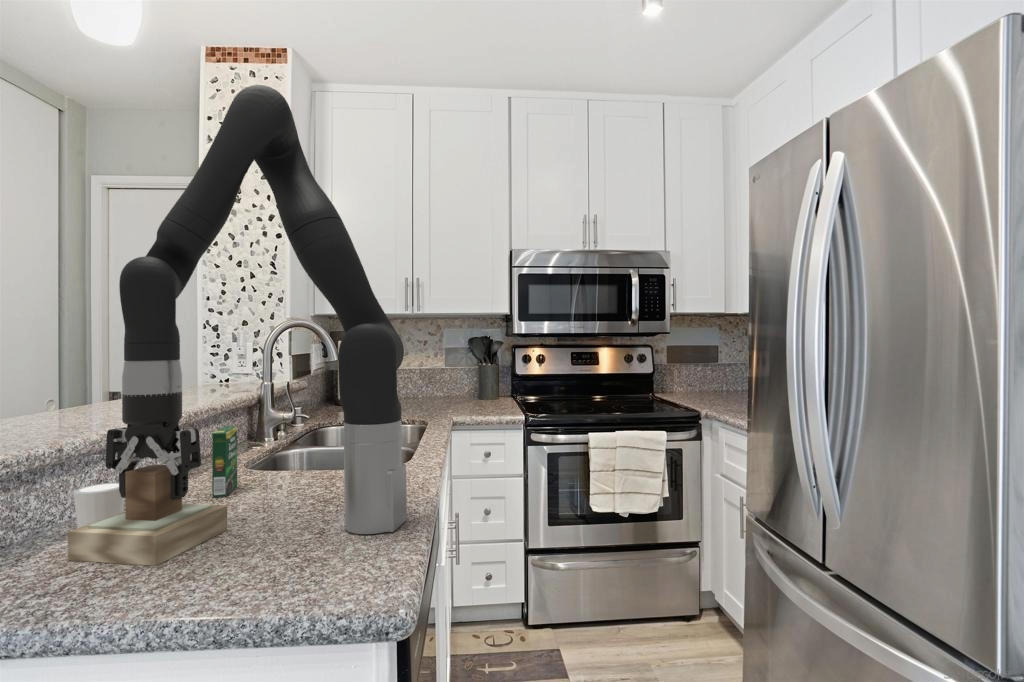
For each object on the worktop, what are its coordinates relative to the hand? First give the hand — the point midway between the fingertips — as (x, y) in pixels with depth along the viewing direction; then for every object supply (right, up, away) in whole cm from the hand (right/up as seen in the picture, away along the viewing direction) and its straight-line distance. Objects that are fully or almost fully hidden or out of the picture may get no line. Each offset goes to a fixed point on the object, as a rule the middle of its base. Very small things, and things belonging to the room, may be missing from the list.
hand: (153, 497), depth 79 cm
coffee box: (-5, -8, +28) cm, 29 cm away
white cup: (-13, -8, +7) cm, 16 cm away
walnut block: (0, -3, 0) cm, 3 cm away
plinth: (0, -7, 0) cm, 7 cm away
